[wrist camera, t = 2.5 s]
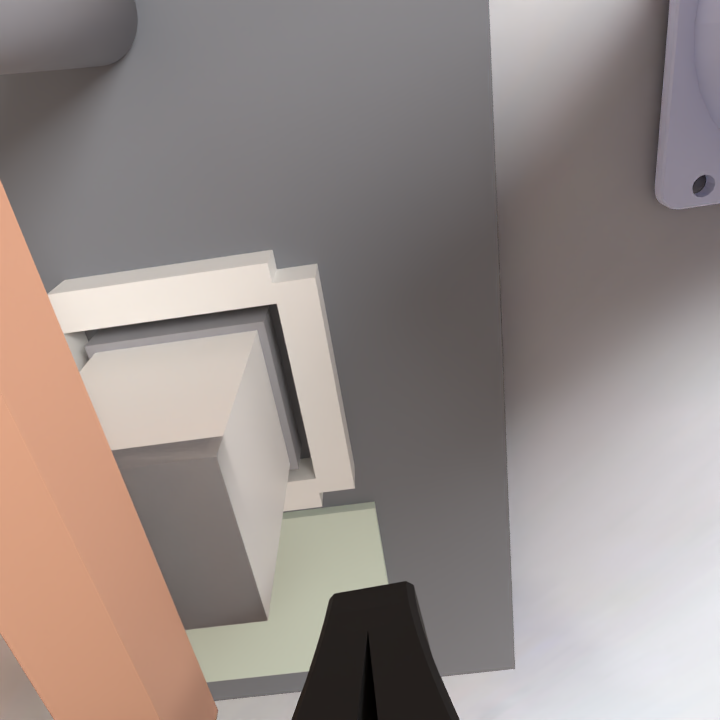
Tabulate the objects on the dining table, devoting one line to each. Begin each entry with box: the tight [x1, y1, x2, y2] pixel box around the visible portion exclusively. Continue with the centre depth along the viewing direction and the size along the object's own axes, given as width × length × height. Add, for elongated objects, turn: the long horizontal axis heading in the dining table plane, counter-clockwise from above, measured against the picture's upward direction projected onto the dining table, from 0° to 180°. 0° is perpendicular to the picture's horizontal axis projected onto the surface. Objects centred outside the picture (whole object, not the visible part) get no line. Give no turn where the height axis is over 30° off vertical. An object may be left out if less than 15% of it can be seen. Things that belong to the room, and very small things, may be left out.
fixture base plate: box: [0, 0, 515, 701], centre depth 17 cm, size 16×24×2 cm, turn 8°
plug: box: [79, 305, 301, 630], centre depth 14 cm, size 4×4×6 cm
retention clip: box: [0, 0, 218, 720], centre depth 11 cm, size 2×13×8 cm, turn 8°
